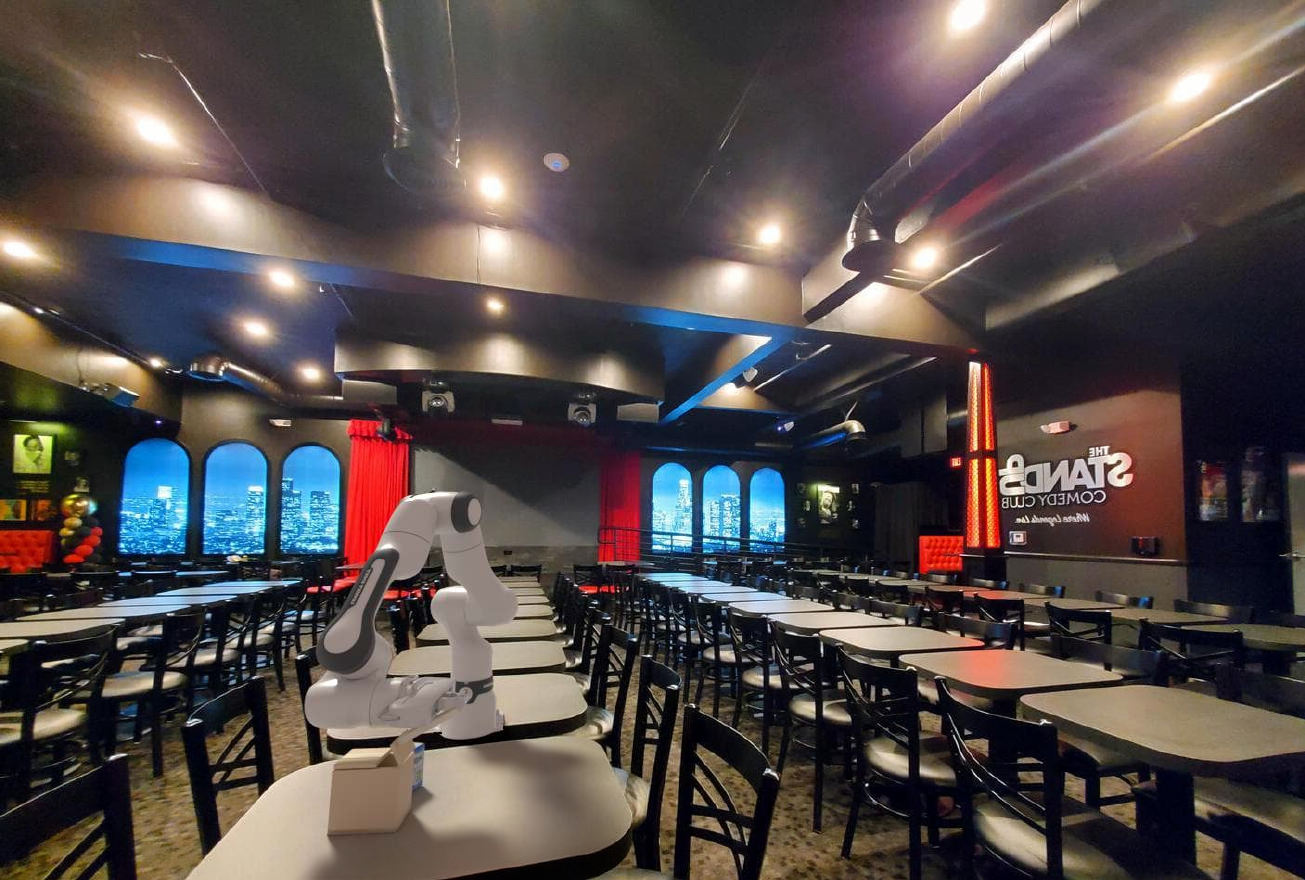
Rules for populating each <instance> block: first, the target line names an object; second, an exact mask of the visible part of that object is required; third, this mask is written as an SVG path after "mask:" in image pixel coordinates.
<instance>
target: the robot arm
mask: <svg viewBox="0 0 1305 880" xmlns="http://www.w3.org/2000/svg"><path fill="white" fill-rule="evenodd" d="M482 515H483V507H482V504H481V501H480V499H479V498H478V496H476V494H474V493H471V492H467V491H459V492H458V491H436V492H429V493H422V494H418V493H415V494H410V495H407V496H405V497H403V498H402V499H401V500H400V501H399V502H398V504H397V506H396V507H395V510H394V511H393V514H392V515H391V517H390V519H389V520H388V521H387V524H386V526H385V528H384V531H383V533H382V535H381V538H380V540H379V542H378V544H377V546H376V549H375V550H374V552H373V553H372V554H371V555H370V556H369V558H368V559H367V560H366V562H365V564H364V566H363V567H362V569H361V571H360V572H359V575H358V576H357V579H356V580H355V582H354V584H353V586H352V588H351V590H350V592H349V594H348V596H347V597H346V600H345V602H344V604H343V605H342V607H341V609H340V610H339V612H338V613H337V615H336V616H334V618H333V619H332V620H331V621H330V622H329V624H328V625H327V626H326V627H325V629H323V631H322V632H321V634H320V636H319V637H318V640H317V643H316V647H315V655H316V656H315V657H316V659H317V661H318V663H319V665H320V666H321V667H322V668H323V669H325V670H327V671H326V673H325V674H323V676H322V677H321V678H320V679H319V680H318V681H317V682H316V683H314V684H312V685H311V686H309V688H308V690H307V692H306V695H305V698H304V705H303V706H304V707H303V709H304V714H305V717H306V719H307V721H308V722H309V724H310V725H312V726H313V727H316V728H320V729H329V730H352V729H356V728H361V727H367V728H370V729H387V728H389V729H391V728H392V729H393V728H396V729H412V728H421V727H425V726H427V725H428V723H429V722H430V721H431V720H432V719H433V718H434V717H435V716H436V715H438V714H440V713H442V712H444V711H446V710H448V709H452V708H458V707H464V708H463V709H462V710H461V712H460V713H459V714H458V715H456V716H454V717H452V718H450V719H449V720H447V721H445V722H443V723H441V724H439V725H437V726H435V727H434V728H433V731H434V730H440V731H441V732H442V734H440V736H442V737H443V738H445V739H450V740H469V739H477V738H480V737H485V736H487V735H490V734H491V733H495V732H500V731H503V730H504V729H503V723H504V711H503V710H502V709H497V694H496V693H495V691H494V683H495V681H494V675H493V674H494V673H493V653H494V651H493V646H492V644H491V643H490V642H489V641H488V640H486V639H485V638H483V636H481V634H480V632H479V629H478V627H493V628H494V627H498V626H503V625H508V624H511V622H512V621H513V620H514V618H515V617H516V615H517V613H518V611H519V609H518V608H519V601H518V597H517V594H516V593H515V591H513V589H511V588H509V587H508V586H506V585H505V584H504V583H502V581H501V580H500V579H499V578H498V577H497V576H496V574H495V573H494V571H493V570H492V568H491V566H490V563H489V561H488V556H487V552H486V548H485V543H484V537H483V533H482V529H481V526H480V522H481V520H482ZM435 536H439V537H440V544H441V545H440V546H441V550H442V554H443V556H442V557H443V559H444V560H443V561H444V566H445V569H446V573H447V576H449V578H450V579H451V580H453V581H455V582H456V583H458V584H459V585H454V586H447V587H444V588H441V589H440V588H439V590H437V591H436V593H435V594H434V596H433V598H432V599H431V603H430V611H431V612H430V613H431V615H432V618H433V620H434V621H436V622H437V624H439V625H440V626H441V627H442V629H443V631H444V633H445V635H446V637H447V639H448V643H449V647H450V677H437V676H436V677H434V676H424V677H419V675H418V674H408V675H405V676H401V677H393V678H392V677H389V678H387V676H388V674H389V671H390V668H391V665H392V663H393V656H394V653H393V649H392V647H391V645H390V643H389V642H388V641H387V640H386V639H385V638H384V637H383V636H382V635H381V634H379V632H377V630H376V627H375V626H376V625H375V618H376V615H377V613H378V611H379V609H380V607H381V604H382V602H383V600H384V597H385V596H386V594H387V592H388V589H389V587H390V585H391V584H392V583H393V582H394V581H395V580H397V581H398V580H399V581H402V580H407V579H411V578H412V577H414V576H416V575H417V574H419V573H420V572H421V570H422V568H423V567H424V565H425V564H426V562H427V559H428V557H429V554H430V551H431V548H432V545H433V541H434V538H435ZM499 724H500V725H499Z"/></svg>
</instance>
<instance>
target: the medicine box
mask: <svg viewBox="0 0 1305 880" xmlns="http://www.w3.org/2000/svg"><path fill="white" fill-rule="evenodd" d="M413 742H414V741H413ZM414 745H415V747H416V748H415V749H414V750H413V752H414V765H413V782H412V793H413V792H415V791H416V790H418V789H419V788H420V787H421V786H423V782H424V781H423V779H424V762H425V761H424V760H425V758H424V757H425V743H424V742H417V741H415V742H414Z"/></svg>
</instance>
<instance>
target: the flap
mask: <svg viewBox="0 0 1305 880" xmlns="http://www.w3.org/2000/svg"><path fill="white" fill-rule="evenodd" d="M463 708H464V707H458V708H452V709H448V710H446V711H444V712H442V713H441V712H439V713H438V714H437V715H436V716H435V717H434V718H433V719H432V720H431V721H430V722H429V723H428V725H427V726H425V727H421V728H406V729H405V730H404V731H403V732H402V733H400V735H399V736H398V737H397V738H396V739H395V740H394V741H393V742H392V743H391V744H389V746H390V747H389V748H391V749H392V751H391V752H393V754H394V756H395V759H396V761H397V764H398V765H400V764H402V763H403V762H404V761H405V759H406V758H407V757H408V756H409V755H410V754H411V753H412V752H413V750H414V749H415V748H416V747H415V745H414V741H413V739H414V738H417V737H419V736H420V735H422V734H424V733H426V732H428V731H430V730H432V729H434V728H435V727H436V726H438V725H439V724H441V723H443V722H445V721H447V720H449V719H450V718H452V717H454V716H456V715H458V714H459V713H460V712H461V710H462V709H463Z"/></svg>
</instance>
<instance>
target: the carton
mask: <svg viewBox="0 0 1305 880" xmlns="http://www.w3.org/2000/svg"><path fill="white" fill-rule="evenodd" d="M413 765H414V752H412V753H411V754H410V755H409V756H408V757H407V758H406V759H405V761H404V762H403V763H402V764H400V765H398V764H397V761H396V759H395V756H394V754H393V752H392V749H391V747H378V748H352V749H351V750H349V751H348V752H347V753H346V754H345V755H344V756H342V757H341V758H340V759H339V760H338V761H337V762H335V763H334V764H333V768H332V769H333V770H332V773H331V774H332V776H331V784H330V785H331V786H330V798H329V800H330V801H329V810H328V824H327V834H326V835H327V836H343V835H344V836H345V835H362V834H363V835H366V834H386V833H387V834H388V833H396V832H397V830H399V828H400V826H401V825H402V823H404V820H405V819H406V818H407V816H408V815H409V814H410V812H411V810H412V798H413V797H412V796H413V792H412V782H413Z"/></svg>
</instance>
